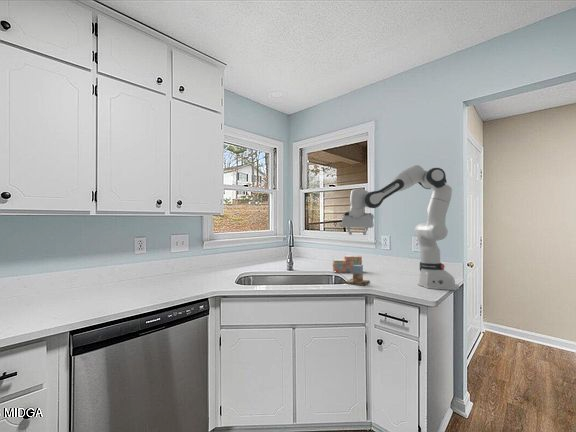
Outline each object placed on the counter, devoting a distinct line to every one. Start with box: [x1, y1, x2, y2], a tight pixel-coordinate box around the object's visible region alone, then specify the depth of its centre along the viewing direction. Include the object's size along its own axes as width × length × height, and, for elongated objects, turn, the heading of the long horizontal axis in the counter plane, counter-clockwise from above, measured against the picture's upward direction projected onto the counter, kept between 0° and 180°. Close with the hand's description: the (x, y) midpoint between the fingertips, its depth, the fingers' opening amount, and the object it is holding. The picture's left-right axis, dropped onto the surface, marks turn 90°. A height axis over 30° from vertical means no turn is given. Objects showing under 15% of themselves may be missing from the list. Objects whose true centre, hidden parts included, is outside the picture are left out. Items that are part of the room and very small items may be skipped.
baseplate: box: [345, 278, 370, 287], centre depth 191 cm, size 12×11×1 cm
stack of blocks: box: [332, 255, 363, 273], centre depth 232 cm, size 21×6×12 cm, turn 92°
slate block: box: [352, 264, 364, 275], centre depth 191 cm, size 5×5×5 cm
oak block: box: [352, 272, 364, 282], centre depth 191 cm, size 5×5×5 cm
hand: (357, 234), depth 191 cm, fingers open, 8 cm apart
